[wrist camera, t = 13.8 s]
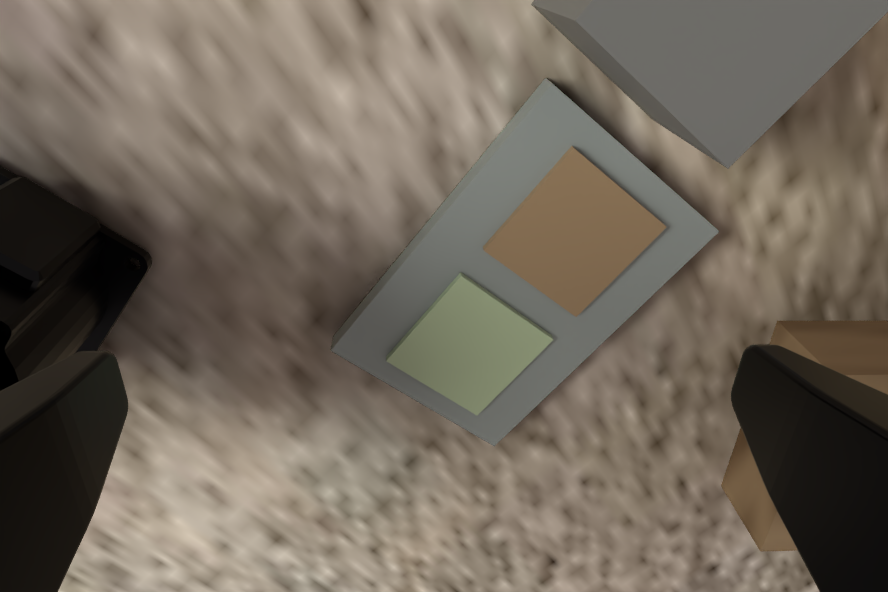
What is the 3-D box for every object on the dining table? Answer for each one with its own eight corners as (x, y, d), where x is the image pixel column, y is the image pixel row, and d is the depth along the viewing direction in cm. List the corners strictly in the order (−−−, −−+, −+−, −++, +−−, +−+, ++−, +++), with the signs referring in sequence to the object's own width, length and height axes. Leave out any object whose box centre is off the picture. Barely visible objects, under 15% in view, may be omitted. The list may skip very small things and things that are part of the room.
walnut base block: (898, 476, 30) (963, 545, 26) (717, 480, 29) (760, 551, 26) (982, 315, 26) (1074, 373, 22) (772, 316, 25) (832, 375, 21)
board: (491, 429, 26) (495, 451, 25) (333, 336, 24) (329, 355, 23) (707, 220, 22) (723, 234, 21) (545, 77, 20) (554, 85, 18)
